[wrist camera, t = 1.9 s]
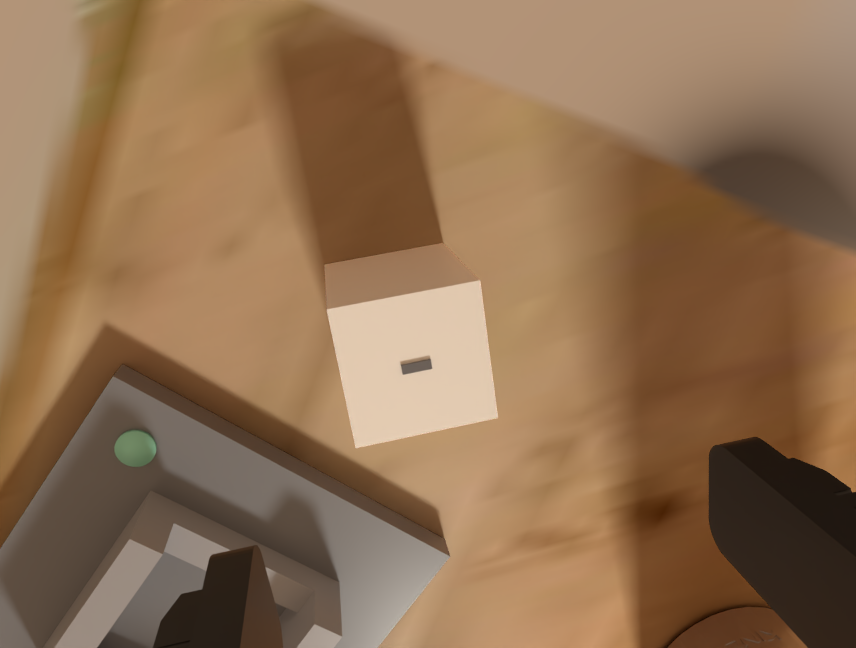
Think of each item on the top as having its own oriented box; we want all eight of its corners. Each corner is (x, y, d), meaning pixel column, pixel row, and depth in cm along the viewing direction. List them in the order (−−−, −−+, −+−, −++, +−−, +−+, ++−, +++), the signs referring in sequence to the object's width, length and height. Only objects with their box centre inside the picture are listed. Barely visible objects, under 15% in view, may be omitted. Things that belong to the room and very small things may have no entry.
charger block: (443, 242, 25) (480, 281, 19) (458, 352, 26) (498, 419, 21) (324, 264, 24) (326, 310, 19) (347, 375, 26) (356, 449, 20)
